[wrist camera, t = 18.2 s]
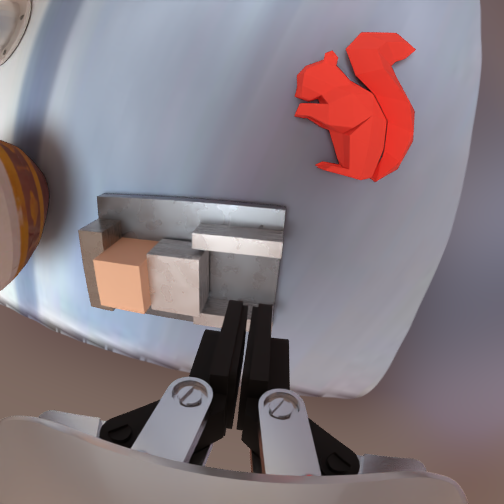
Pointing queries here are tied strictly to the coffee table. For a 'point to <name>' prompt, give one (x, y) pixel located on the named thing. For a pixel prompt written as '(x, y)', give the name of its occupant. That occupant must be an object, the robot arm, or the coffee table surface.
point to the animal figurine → (361, 106)
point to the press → (196, 245)
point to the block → (124, 275)
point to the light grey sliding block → (178, 277)
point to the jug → (19, 210)
